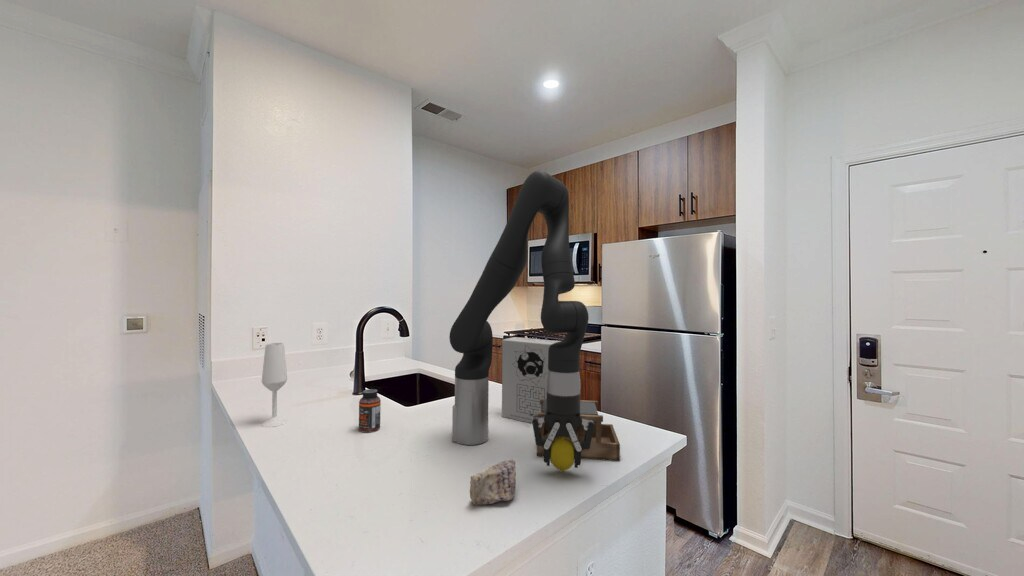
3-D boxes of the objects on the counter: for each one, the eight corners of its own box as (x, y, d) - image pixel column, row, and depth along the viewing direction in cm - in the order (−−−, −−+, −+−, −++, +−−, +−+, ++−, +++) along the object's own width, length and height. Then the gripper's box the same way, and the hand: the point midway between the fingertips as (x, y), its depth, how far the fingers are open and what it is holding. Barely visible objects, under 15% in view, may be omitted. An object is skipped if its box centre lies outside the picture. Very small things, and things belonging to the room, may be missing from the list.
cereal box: (573, 423, 122) (573, 342, 122) (562, 430, 115) (563, 345, 115) (513, 410, 133) (514, 336, 133) (501, 417, 127) (501, 339, 127)
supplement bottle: (354, 431, 114) (354, 392, 114) (368, 424, 119) (369, 387, 119) (370, 434, 111) (370, 394, 111) (384, 427, 117) (385, 389, 117)
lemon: (573, 479, 85) (574, 442, 85) (548, 476, 86) (548, 439, 86) (575, 467, 91) (575, 432, 91) (551, 464, 92) (551, 430, 92)
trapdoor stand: (536, 456, 98) (537, 414, 98) (539, 435, 112) (540, 398, 112) (619, 461, 95) (620, 418, 95) (612, 438, 109) (612, 401, 109)
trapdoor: (541, 419, 99) (541, 412, 99) (543, 406, 110) (543, 400, 110) (598, 421, 98) (598, 414, 98) (594, 408, 108) (594, 402, 108)
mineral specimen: (493, 518, 72) (494, 484, 71) (463, 506, 76) (464, 473, 76) (530, 489, 82) (530, 459, 82) (502, 479, 86) (502, 451, 86)
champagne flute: (288, 424, 119) (288, 344, 119) (261, 428, 115) (262, 346, 115) (286, 417, 125) (286, 341, 125) (260, 421, 121) (261, 343, 121)
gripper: (529, 392, 86) (528, 470, 86) (597, 396, 84) (596, 475, 84) (532, 384, 93) (531, 455, 93) (594, 387, 91) (593, 460, 91)
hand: (562, 464), depth 88 cm, fingers closed on lemon, 5 cm apart
